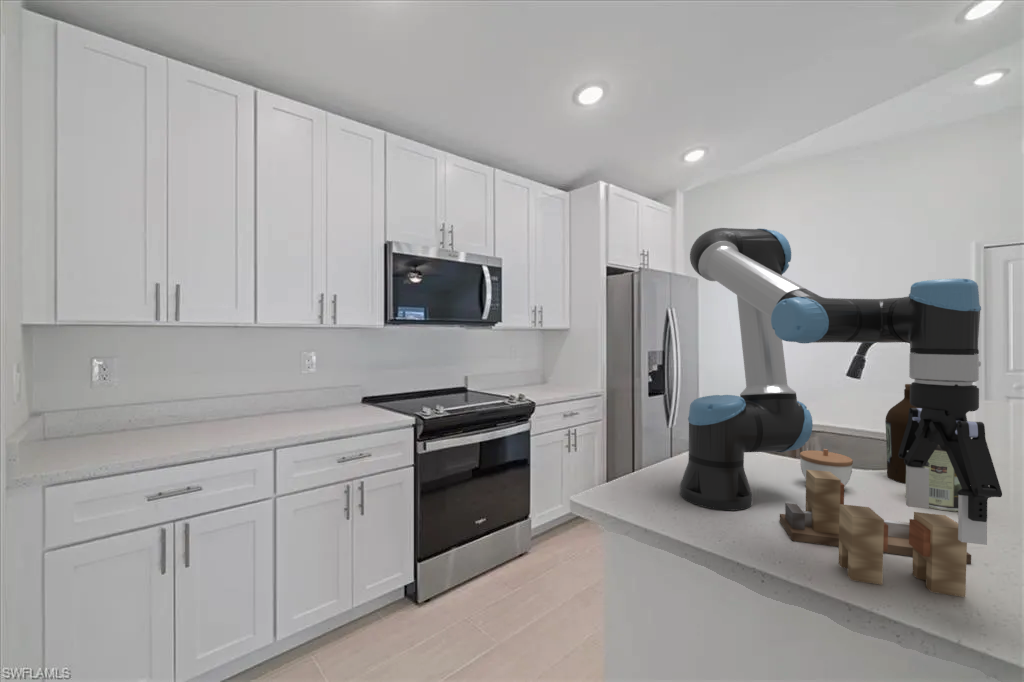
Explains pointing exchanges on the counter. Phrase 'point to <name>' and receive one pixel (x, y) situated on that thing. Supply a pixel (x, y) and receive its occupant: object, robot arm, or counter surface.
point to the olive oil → (897, 436)
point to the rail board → (801, 530)
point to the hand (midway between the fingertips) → (942, 523)
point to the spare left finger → (862, 543)
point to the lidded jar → (827, 463)
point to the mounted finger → (824, 500)
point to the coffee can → (942, 482)
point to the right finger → (938, 553)
